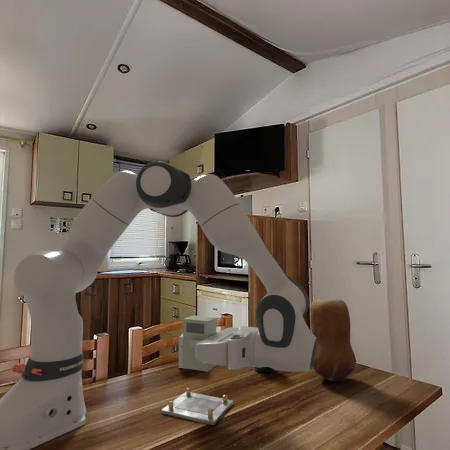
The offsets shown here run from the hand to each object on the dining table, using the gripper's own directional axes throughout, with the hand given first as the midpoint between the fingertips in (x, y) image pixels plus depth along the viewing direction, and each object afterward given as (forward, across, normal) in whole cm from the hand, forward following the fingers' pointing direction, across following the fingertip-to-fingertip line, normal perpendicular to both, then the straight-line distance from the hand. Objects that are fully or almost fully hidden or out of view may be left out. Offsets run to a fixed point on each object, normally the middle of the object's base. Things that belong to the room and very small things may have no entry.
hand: (196, 339), depth 85 cm
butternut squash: (-30, -34, +17) cm, 48 cm away
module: (-1, 0, +6) cm, 7 cm away
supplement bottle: (-8, -34, +17) cm, 39 cm away
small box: (+16, -27, +17) cm, 36 cm away
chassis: (-1, 0, +17) cm, 17 cm away
